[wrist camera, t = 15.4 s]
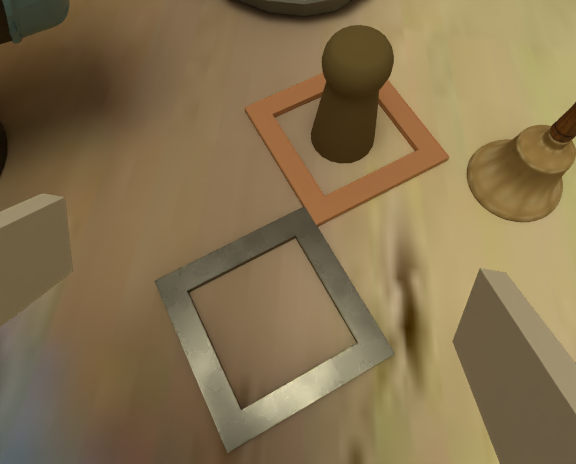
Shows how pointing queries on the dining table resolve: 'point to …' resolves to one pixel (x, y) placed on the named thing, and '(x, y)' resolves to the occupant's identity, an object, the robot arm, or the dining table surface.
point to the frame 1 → (363, 188)
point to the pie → (298, 6)
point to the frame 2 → (303, 389)
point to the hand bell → (524, 170)
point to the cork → (351, 93)
